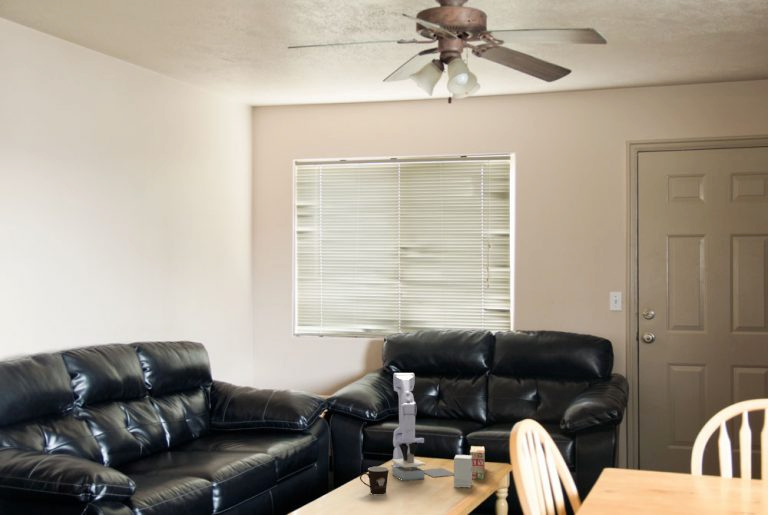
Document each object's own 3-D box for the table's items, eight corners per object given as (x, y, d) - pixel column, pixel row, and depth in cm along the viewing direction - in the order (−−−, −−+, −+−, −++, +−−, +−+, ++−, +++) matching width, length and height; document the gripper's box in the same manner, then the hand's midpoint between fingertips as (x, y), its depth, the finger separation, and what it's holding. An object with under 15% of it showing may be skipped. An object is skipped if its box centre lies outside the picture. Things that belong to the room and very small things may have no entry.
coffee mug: (389, 490, 376) (389, 466, 376) (387, 495, 367) (387, 471, 368) (362, 489, 377) (362, 466, 377) (359, 495, 369) (359, 470, 369)
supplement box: (470, 488, 381) (470, 458, 381) (453, 487, 382) (453, 457, 383) (472, 484, 388) (472, 455, 388) (455, 483, 390) (455, 454, 390)
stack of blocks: (471, 468, 419) (471, 442, 419) (484, 468, 418) (485, 442, 419) (469, 479, 398) (469, 451, 398) (483, 479, 397) (484, 452, 397)
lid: (391, 462, 404) (391, 452, 404) (412, 460, 408) (412, 450, 408) (403, 468, 392) (404, 457, 392) (425, 466, 397) (425, 455, 397)
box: (392, 475, 403) (392, 466, 403) (412, 473, 408) (412, 464, 408) (404, 481, 392) (404, 472, 393) (424, 479, 397) (424, 470, 397)
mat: (419, 471, 412) (419, 470, 412) (442, 468, 417) (442, 468, 417) (433, 477, 400) (433, 476, 400) (456, 475, 405) (456, 474, 405)
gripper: (397, 432, 394) (397, 463, 393) (427, 429, 400) (426, 460, 400) (391, 429, 400) (390, 459, 400) (420, 427, 406) (419, 457, 406)
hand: (408, 459), depth 400 cm, fingers closed on lid, 2 cm apart
